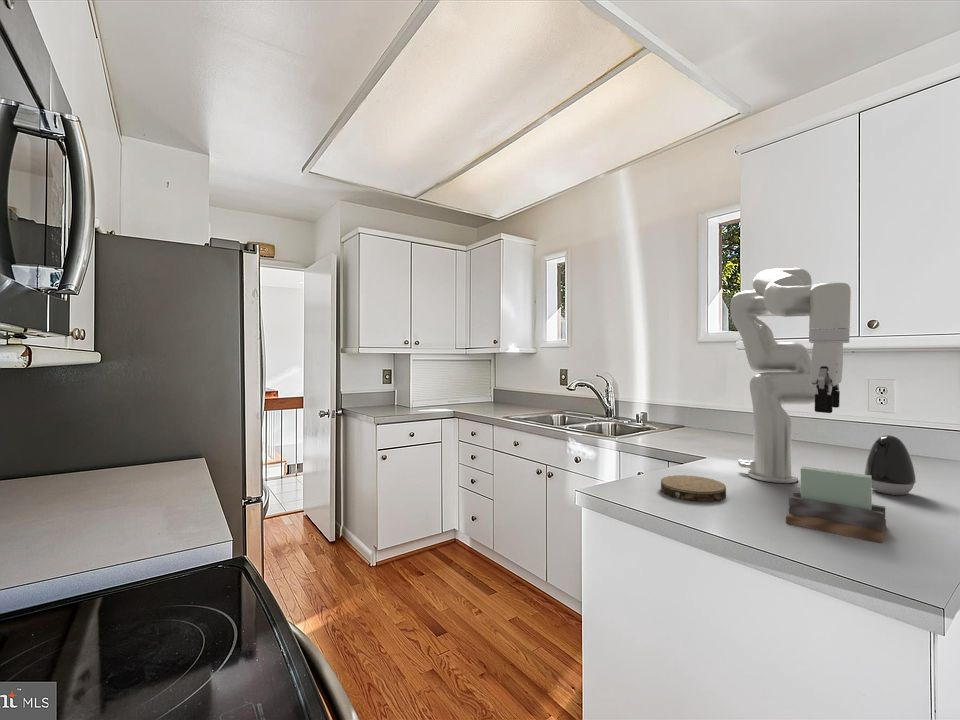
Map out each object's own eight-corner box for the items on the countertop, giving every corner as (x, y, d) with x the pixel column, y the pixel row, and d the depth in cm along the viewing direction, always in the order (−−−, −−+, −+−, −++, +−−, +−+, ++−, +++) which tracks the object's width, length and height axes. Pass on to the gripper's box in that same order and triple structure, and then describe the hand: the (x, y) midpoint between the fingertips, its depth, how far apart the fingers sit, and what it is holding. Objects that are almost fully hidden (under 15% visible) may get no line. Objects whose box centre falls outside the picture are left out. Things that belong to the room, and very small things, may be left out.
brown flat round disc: (675, 482, 135) (675, 472, 135) (734, 493, 124) (734, 482, 124) (650, 494, 124) (650, 483, 124) (713, 508, 112) (713, 495, 112)
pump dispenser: (855, 489, 125) (855, 434, 125) (877, 485, 129) (877, 431, 129) (902, 500, 115) (901, 440, 115) (924, 495, 120) (924, 436, 119)
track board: (785, 522, 101) (785, 500, 101) (797, 509, 110) (796, 488, 110) (882, 543, 90) (882, 517, 90) (886, 526, 99) (886, 503, 99)
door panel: (800, 512, 103) (800, 468, 103) (802, 510, 105) (802, 466, 105) (870, 526, 95) (870, 477, 95) (871, 522, 97) (871, 475, 97)
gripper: (816, 336, 116) (814, 403, 117) (801, 337, 104) (799, 412, 105) (854, 335, 110) (852, 406, 111) (843, 337, 98) (841, 416, 99)
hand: (827, 409), depth 108 cm, fingers open, 9 cm apart
